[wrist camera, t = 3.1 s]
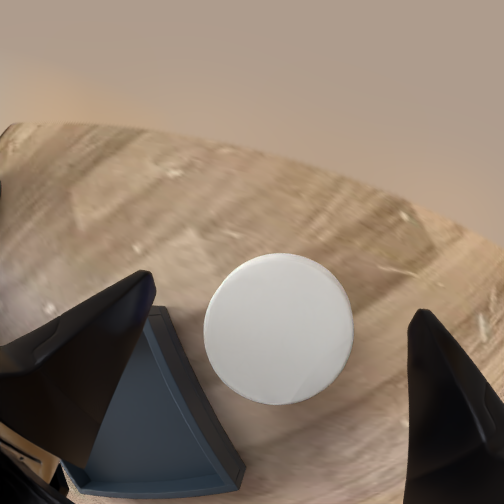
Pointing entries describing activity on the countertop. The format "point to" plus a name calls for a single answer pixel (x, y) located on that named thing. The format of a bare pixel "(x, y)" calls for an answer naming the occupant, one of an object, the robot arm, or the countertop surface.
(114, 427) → the tray
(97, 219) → the countertop surface
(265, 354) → the pill bottle
